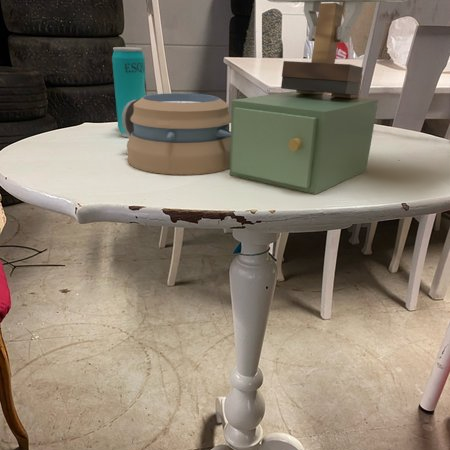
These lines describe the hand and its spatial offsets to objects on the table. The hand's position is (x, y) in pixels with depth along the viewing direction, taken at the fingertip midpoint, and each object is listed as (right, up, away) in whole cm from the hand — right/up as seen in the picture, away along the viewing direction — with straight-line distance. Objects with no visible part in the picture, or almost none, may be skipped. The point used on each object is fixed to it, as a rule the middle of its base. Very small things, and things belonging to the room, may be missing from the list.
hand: (328, 41), depth 64 cm
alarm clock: (-22, -12, +13) cm, 28 cm away
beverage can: (-32, -4, +27) cm, 42 cm away
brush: (-1, -6, +2) cm, 6 cm away
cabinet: (-3, -16, +6) cm, 17 cm away
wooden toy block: (-1, -4, +7) cm, 8 cm away
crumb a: (+3, -6, +4) cm, 8 cm away
